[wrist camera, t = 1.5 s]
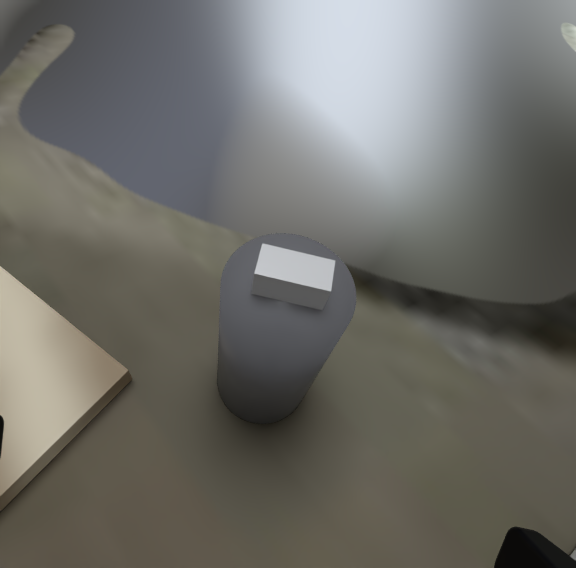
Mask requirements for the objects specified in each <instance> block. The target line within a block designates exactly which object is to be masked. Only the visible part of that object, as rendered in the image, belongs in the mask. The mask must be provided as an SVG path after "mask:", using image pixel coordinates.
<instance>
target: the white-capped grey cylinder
mask: <svg viewBox="0 0 576 568" xmlns="http://www.w3.org/2000/svg"><path fill="white" fill-rule="evenodd" d="M355 306H356V289H355V285H354V281H353V278H352V276H351V274H350V272H349V270H348V268H347V267H346V265H345V264H344V263H343V261H342V260H341V259H340V258H339V257H338V256H337V255H336V254H335V253H334V252H332V251H331V250H330V249H329V248H327V247H326V246H324V245H323V244H321V243H319V242H317V241H315V240H312V239H310V238H307V237H304V236H300V235H295V234H286V233H280V234H269V235H265V236H260V237H258V238H255V239H253V240H251V241H249V242H247V243H245V244H244V245H242V246H241V247H240V248H238V249H237V250H236V251H235V252H234V253H233V254H232V256H231V257H230V258H229V260H228V261H227V263H226V265H225V267H224V270H223V273H222V277H221V287H220V315H219V343H218V371H217V384H218V390H219V393H220V396H221V398H222V400H223V402H224V403H225V405H226V406H227V407H228V409H229V410H230V411H231V412H233V413H234V414H235V415H236V416H238V417H240V418H241V419H243V420H246V421H249V422H252V423H258V424H266V423H273V422H276V421H279V420H281V419H283V418H285V417H287V416H288V415H290V414H291V413H292V412H293V411H294V410H295V409H296V408H297V406H298V405H299V404H300V402H301V401H302V399H303V397H304V396H305V394H306V392H307V391H308V389H309V388H310V386H311V384H312V383H313V381H314V379H315V378H316V376H317V375H318V373H319V371H320V370H321V368H322V366H323V365H324V363H325V362H326V360H327V358H328V357H329V355H330V354H331V352H332V350H333V349H334V347H335V345H336V344H337V342H338V341H339V339H340V337H341V336H342V334H343V332H344V331H345V329H346V328H347V326H348V324H349V323H350V321H351V319H352V317H353V314H354V311H355Z"/></svg>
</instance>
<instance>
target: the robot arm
mask: <svg viewBox="0 0 576 568" xmlns="http://www.w3.org/2000/svg"><path fill="white" fill-rule="evenodd" d="M3 431H4V419H3V417H2V416H1V415H0V458H1V451H2V441H3ZM494 568H576V560H574V559H573V558H572V557H570V556H569V555H568V554H566V553H565V552H564V551H562V550H561V549H560V548H558V547H557V546H556V545H554V544H553V543H552V542H550V541H549V540H548V539H547V538H545V537H544V536H543V535H541V534H540V533H538V532H536V531H534V530H530V529H525V528H520V527H512V528H510V529H509V530H508V532H507V534H506V536H505V539H504V541H503V544H502V546H501V549H500V551H499V554H498V556H497V558H496V561H495V565H494Z"/></svg>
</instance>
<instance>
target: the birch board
mask: <svg viewBox="0 0 576 568" xmlns="http://www.w3.org/2000/svg"><path fill="white" fill-rule="evenodd" d="M131 380H132V377H131V375H130V373H129V370H127V369H126V368H125V367H124V366H122V365H121V364H120V363H119V362H118V361H116V360H115V359H114V358H113V357H111V356H110V355H109V354H108V353H106V352H105V351H104V350H103V349H102V348H100V347H99V346H98V345H97V344H95V343H94V342H93V341H92V340H90V339H89V338H88V337H87V336H86V335H84V334H83V333H82V332H81V331H79V330H78V329H77V328H76V327H74V326H73V325H72V324H71V323H69V322H68V321H67V320H66V319H65V318H63V317H62V316H61V315H60V314H58V313H57V312H56V311H55V310H53V309H52V308H51V307H50V306H49V305H47V304H46V303H45V302H44V301H42V300H41V299H40V298H39V297H37V296H36V295H35V294H34V293H33V292H31V291H30V290H29V289H28V288H26V287H25V286H24V285H23V284H21V283H20V282H19V281H18V280H17V279H15V278H14V277H13V276H12V275H10V274H9V273H8V272H7V271H5V270H4V269H3V268H2V267H1V266H0V415H1V416H2V417H3V419H4V431H3V441H2V451H1V458H0V511H1V510H2V509H3V508H4V507H5V506H6V505H7V504H8V503H9V502H10V501H11V500H12V499H13V498H14V497H15V496H16V495H17V494H18V493H19V492H20V491H21V490H22V489H23V488H24V487H25V486H26V485H27V484H28V483H29V482H30V481H31V480H32V479H33V478H34V477H35V476H36V475H37V474H38V473H39V472H40V471H41V470H42V469H43V468H44V467H45V466H46V465H47V464H48V463H49V462H50V461H51V460H52V459H53V458H54V457H55V456H56V455H57V454H58V453H59V452H60V451H61V450H62V449H63V448H64V447H65V446H66V445H67V444H68V443H69V442H70V441H71V440H72V439H73V438H74V437H75V436H76V435H77V434H78V433H79V432H80V431H81V430H82V429H83V428H84V427H85V426H86V425H87V424H88V423H89V422H90V421H91V420H92V419H93V418H94V417H95V416H96V415H97V414H98V413H99V412H100V411H101V410H102V409H103V408H104V407H105V406H106V405H107V404H108V403H109V402H110V401H111V400H112V399H113V398H114V397H115V396H116V395H117V394H118V393H119V392H120V391H121V390H122V389H123V388H124V387H125V386H126V385H127V384H128V383H129V382H130V381H131Z"/></svg>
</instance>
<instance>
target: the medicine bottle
mask: <svg viewBox="0 0 576 568" xmlns="http://www.w3.org/2000/svg"><path fill="white" fill-rule="evenodd" d="M570 557H572V558H573V559H574V560H576V548H575V550H574V551H573V552H572V554H571V555H570Z"/></svg>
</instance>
